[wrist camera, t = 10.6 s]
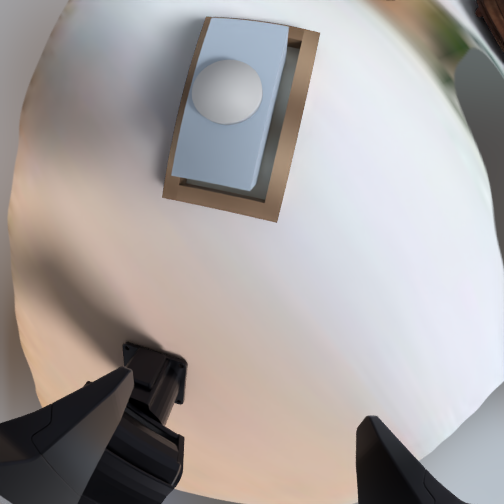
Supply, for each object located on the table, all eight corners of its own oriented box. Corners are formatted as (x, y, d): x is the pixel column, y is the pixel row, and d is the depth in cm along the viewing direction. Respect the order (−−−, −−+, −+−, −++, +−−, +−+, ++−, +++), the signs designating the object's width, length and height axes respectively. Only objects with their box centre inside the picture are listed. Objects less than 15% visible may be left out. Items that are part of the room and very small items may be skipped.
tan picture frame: (276, 217, 18) (276, 222, 17) (171, 194, 19) (162, 197, 17) (316, 43, 14) (320, 32, 13) (211, 27, 14) (206, 16, 13)
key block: (285, 59, 15) (289, 19, 9) (256, 183, 18) (247, 192, 12) (227, 50, 15) (208, 10, 9) (198, 171, 18) (165, 176, 12)
